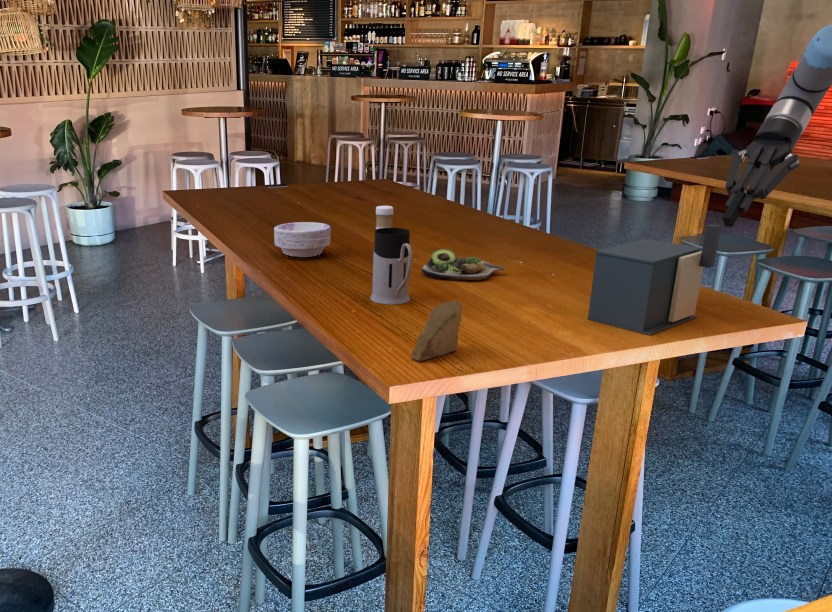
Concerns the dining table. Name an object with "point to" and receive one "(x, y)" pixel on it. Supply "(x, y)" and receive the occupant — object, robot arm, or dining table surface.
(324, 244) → the paper bowls
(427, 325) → the rock
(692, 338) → the dining table surface
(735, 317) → the dining table surface
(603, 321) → the cabinet
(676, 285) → the sliding door
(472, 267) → the salad plate
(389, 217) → the sprinkles bottle
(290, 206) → the dining table surface
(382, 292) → the glass holder
